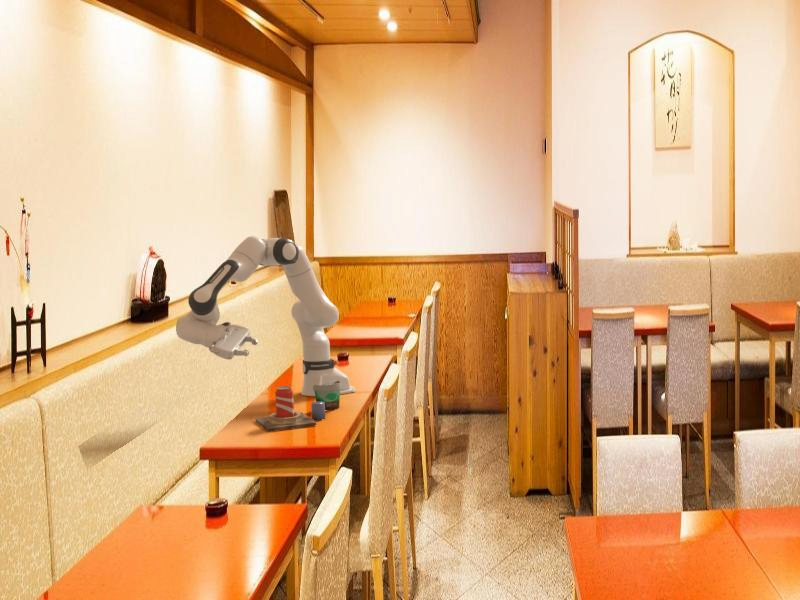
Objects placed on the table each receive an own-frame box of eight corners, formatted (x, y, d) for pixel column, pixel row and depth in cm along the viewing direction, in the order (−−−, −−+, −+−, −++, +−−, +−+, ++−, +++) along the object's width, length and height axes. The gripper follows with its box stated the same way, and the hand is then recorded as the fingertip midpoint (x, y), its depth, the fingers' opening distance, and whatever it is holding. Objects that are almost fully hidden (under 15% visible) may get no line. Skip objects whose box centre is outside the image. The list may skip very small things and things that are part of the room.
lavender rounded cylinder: (322, 416, 375) (322, 400, 374) (327, 419, 371) (326, 403, 370) (310, 418, 373) (309, 402, 373) (314, 421, 369) (313, 405, 368)
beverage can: (297, 419, 367) (296, 387, 365) (284, 422, 362) (283, 390, 361) (286, 417, 371) (284, 385, 369) (273, 420, 366) (271, 388, 365)
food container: (323, 413, 381) (321, 387, 380) (313, 410, 386) (312, 384, 385) (349, 407, 389) (348, 382, 388) (339, 405, 394) (338, 380, 392)
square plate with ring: (302, 415, 378) (301, 407, 377) (316, 425, 361) (316, 417, 361) (255, 421, 371) (254, 412, 371) (267, 431, 354) (267, 423, 354)
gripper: (207, 342, 361) (243, 353, 359) (228, 319, 379) (263, 329, 377) (205, 357, 363) (241, 368, 362) (226, 334, 382) (261, 343, 380)
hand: (252, 348), depth 370 cm, fingers open, 8 cm apart
